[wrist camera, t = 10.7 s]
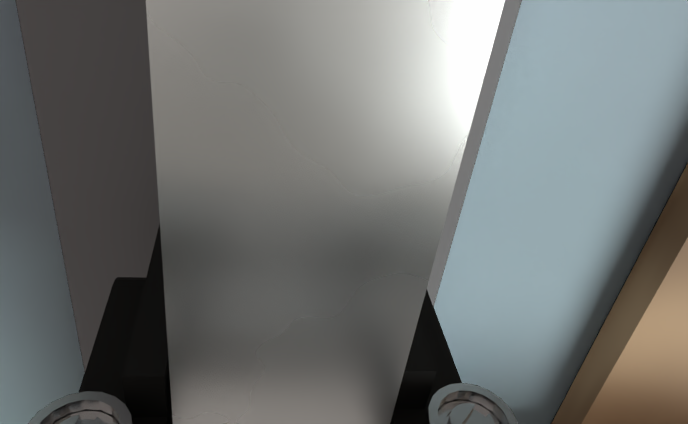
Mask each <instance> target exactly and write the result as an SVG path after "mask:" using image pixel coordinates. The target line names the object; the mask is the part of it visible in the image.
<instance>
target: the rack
mask: <svg viewBox="0 0 688 424" xmlns="http://www.w3.org/2000/svg"><path fill="white" fill-rule="evenodd" d="M551 424H688V164H687V166H686V167H685V169H684V171H683V173H682V175H681V177H680V179H679V181H678V183H677V185H676V187H675V188H674V190H673V192H672V194H671V196H670V198H669V200H668V202H667V204H666V206H665V208H664V209H663V211H662V213H661V215H660V217H659V219H658V221H657V223H656V225H655V227H654V229H653V230H652V232H651V234H650V236H649V238H648V240H647V242H646V244H645V246H644V248H643V250H642V251H641V253H640V255H639V257H638V259H637V261H636V263H635V265H634V267H633V269H632V271H631V273H630V274H629V276H628V278H627V280H626V282H625V284H624V286H623V288H622V290H621V292H620V294H619V295H618V297H617V299H616V301H615V303H614V305H613V307H612V309H611V311H610V313H609V315H608V316H607V318H606V320H605V322H604V324H603V326H602V328H601V330H600V332H599V334H598V336H597V337H596V339H595V341H594V343H593V345H592V347H591V349H590V351H589V353H588V355H587V357H586V358H585V360H584V362H583V364H582V366H581V368H580V370H579V372H578V374H577V376H576V378H575V379H574V381H573V383H572V385H571V387H570V389H569V391H568V393H567V395H566V397H565V399H564V401H563V402H562V404H561V406H560V408H559V410H558V412H557V414H556V416H555V418H554V420H553V422H552V423H551Z"/></svg>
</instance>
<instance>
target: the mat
mask: <svg viewBox="0 0 688 424" xmlns="http://www.w3.org/2000/svg"><path fill="white" fill-rule="evenodd" d="M521 1H522V0H505V2H504V6H503V9H502V13H501V17H500V20H499V24H498V28H497V31H496V35H495V39H494V42H493V46H492V50H491V54H490V57H489V61H488V65H487V68H486V72H485V76H484V79H483V83H482V87H481V90H480V94H479V98H478V101H477V105H476V109H475V113H474V116H473V120H472V124H471V127H470V131H469V135H468V138H467V142H466V146H465V149H464V153H463V157H462V160H461V164H460V168H459V172H458V175H457V179H456V183H455V186H454V190H453V194H452V197H451V201H450V205H449V208H448V212H447V216H446V219H445V223H444V227H443V230H442V234H441V238H440V242H439V245H438V249H437V253H436V256H435V260H434V264H433V267H432V271H431V275H430V278H429V282H428V286H427V291H428V294H429V297H430V299H431V302H432V305H433V307H434V303H435V300H436V296H437V293H438V289H439V286H440V282H441V279H442V275H443V272H444V269H445V265H446V262H447V258H448V255H449V251H450V248H451V244H452V241H453V237H454V234H455V230H456V227H457V223H458V220H459V216H460V213H461V210H462V206H463V203H464V199H465V196H466V192H467V189H468V185H469V182H470V178H471V175H472V171H473V168H474V164H475V161H476V157H477V154H478V151H479V147H480V144H481V140H482V137H483V133H484V130H485V126H486V123H487V119H488V116H489V112H490V109H491V105H492V102H493V98H494V95H495V92H496V88H497V85H498V81H499V78H500V74H501V71H502V67H503V64H504V60H505V57H506V53H507V50H508V46H509V43H510V39H511V36H512V33H513V29H514V26H515V22H516V19H517V15H518V12H519V8H520V5H521ZM16 6H17V11H18V16H19V22H20V27H21V32H22V38H23V43H24V49H25V54H26V59H27V65H28V70H29V75H30V81H31V86H32V92H33V97H34V102H35V108H36V113H37V118H38V124H39V129H40V135H41V140H42V145H43V151H44V156H45V161H46V167H47V172H48V178H49V183H50V188H51V194H52V199H53V204H54V210H55V215H56V221H57V226H58V231H59V237H60V242H61V247H62V253H63V258H64V264H65V269H66V274H67V280H68V285H69V290H70V296H71V301H72V307H73V312H74V317H75V323H76V328H77V333H78V339H79V344H80V350H81V355H82V360H83V366H84V371H86V368H87V364H88V361H89V358H90V355H91V352H92V349H93V345H94V342H95V339H96V336H97V333H98V330H99V326H100V323H101V320H102V317H103V314H104V311H105V307H106V304H107V301H108V298H109V295H110V292H111V288H112V285H113V283H114V280H115V279H116V278H117V277H147V272H148V268H149V264H150V260H151V256H152V252H153V248H154V244H155V240H156V236H157V232H158V228H159V223H160V217H159V201H158V186H157V170H156V154H155V139H154V123H153V107H152V92H151V76H150V60H149V45H148V29H147V13H146V0H16Z"/></svg>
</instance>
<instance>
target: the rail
mask: <svg viewBox="0 0 688 424" xmlns="http://www.w3.org/2000/svg"><path fill="white" fill-rule="evenodd" d="M504 2H505V0H146V13H147V29H148V45H149V60H150V76H151V92H152V107H153V123H154V139H155V154H156V170H157V186H158V201H159V217H160V233H161V248H162V264H163V280H164V295H165V311H166V327H167V342H168V358H169V374H170V389H171V405H172V421H173V424H390V422H391V419H392V415H393V411H394V407H395V404H396V400H397V396H398V393H399V389H400V385H401V382H402V378H403V374H404V371H405V367H406V363H407V360H408V356H409V352H410V348H411V345H412V341H413V337H414V334H415V330H416V326H417V323H418V319H419V315H420V312H421V308H422V304H423V301H424V297H425V293H426V289H427V286H428V282H429V278H430V275H431V271H432V267H433V264H434V260H435V256H436V253H437V249H438V245H439V242H440V238H441V234H442V230H443V227H444V223H445V219H446V216H447V212H448V208H449V205H450V201H451V197H452V194H453V190H454V186H455V183H456V179H457V175H458V172H459V168H460V164H461V160H462V157H463V153H464V149H465V146H466V142H467V138H468V135H469V131H470V127H471V124H472V120H473V116H474V113H475V109H476V105H477V101H478V98H479V94H480V90H481V87H482V83H483V79H484V76H485V72H486V68H487V65H488V61H489V57H490V54H491V50H492V46H493V42H494V39H495V35H496V31H497V28H498V24H499V20H500V17H501V13H502V9H503V6H504Z"/></svg>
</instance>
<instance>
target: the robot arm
mask: <svg viewBox="0 0 688 424" xmlns="http://www.w3.org/2000/svg"><path fill="white" fill-rule="evenodd" d="M28 424H173V421H172V405H171V389H170V374H169V358H168V342H167V327H166V311H165V295H164V280H163V264H162V248H161V233H160V223H159V228H158V232H157V236H156V240H155V244H154V248H153V252H152V256H151V260H150V264H149V268H148V272H147V277H117V278H116V279H115V280H114V283H113V285H112V288H111V292H110V295H109V298H108V301H107V304H106V307H105V311H104V314H103V317H102V320H101V323H100V326H99V330H98V333H97V336H96V339H95V342H94V345H93V349H92V352H91V355H90V358H89V361H88V364H87V368H86V371H85V374H84V377H83V380H82V383H81V387H80V390H79V393H74V394H69V395H67V396H64V397H62V398H60V399H57V400H55V401H53V402H51V403H50V404H48V405H47V406H46V407H44V408H43V409H41V410H40V411H38V412H37V413H36V415H35V416H34V417H33V418H32V419H31V420H30V421H29V422H28ZM390 424H518V421H517V419H516V418H515V416H514V414H513V412H512V410H511V409H510V408H509V406H508V405H507V404H506V403H505V402H504V401H503V400H502V399H501V398H500V397H498V396H497V395H495V394H494V393H492V392H491V391H489V390H487V389H485V388H482V387H480V386H477V385H473V384H467V383H462V382H461V380H460V377H459V374H458V372H457V369H456V366H455V364H454V361H453V358H452V356H451V353H450V350H449V348H448V345H447V342H446V339H445V337H444V334H443V331H442V329H441V326H440V323H439V321H438V318H437V315H436V313H435V310H434V307H433V305H432V302H431V299H430V297H429V294H428V291H427V289H426V293H425V297H424V301H423V304H422V308H421V312H420V315H419V319H418V323H417V326H416V330H415V334H414V337H413V341H412V345H411V348H410V352H409V356H408V360H407V363H406V367H405V371H404V374H403V378H402V382H401V385H400V389H399V393H398V396H397V400H396V404H395V407H394V411H393V415H392V419H391V422H390Z"/></svg>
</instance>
